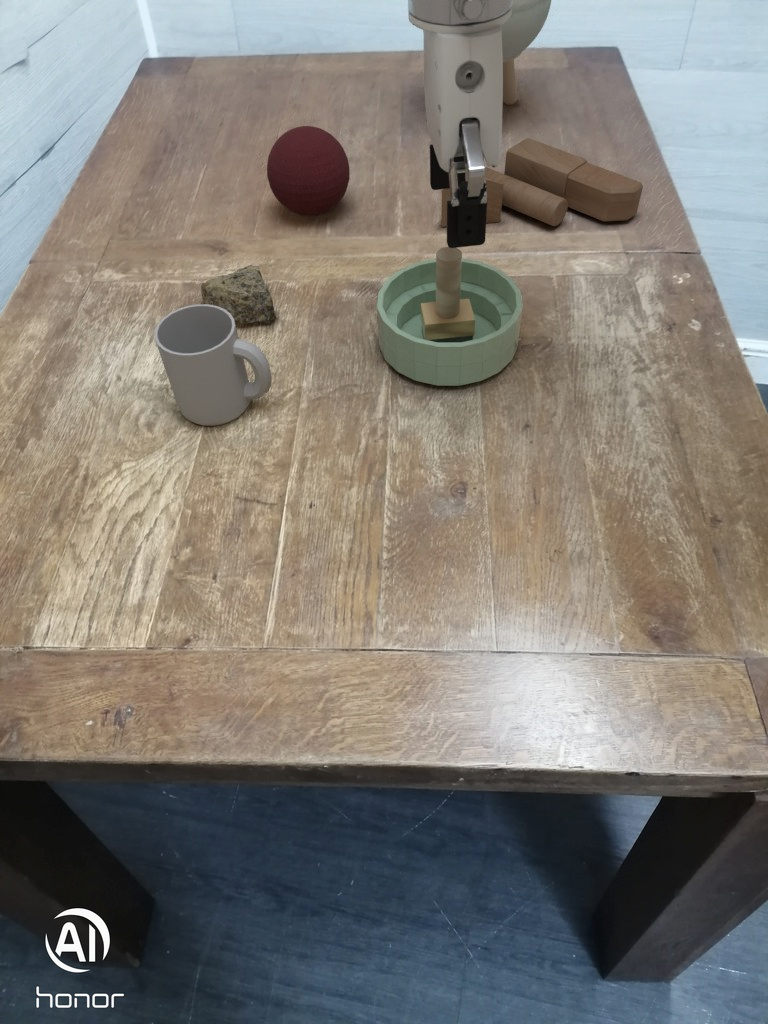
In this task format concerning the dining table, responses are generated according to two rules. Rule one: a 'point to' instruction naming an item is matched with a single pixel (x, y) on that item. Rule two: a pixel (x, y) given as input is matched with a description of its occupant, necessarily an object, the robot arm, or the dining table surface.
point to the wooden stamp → (448, 303)
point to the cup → (210, 364)
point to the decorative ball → (308, 171)
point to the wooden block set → (555, 187)
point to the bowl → (449, 361)
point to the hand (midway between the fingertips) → (456, 214)
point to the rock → (241, 295)
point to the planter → (520, 38)
